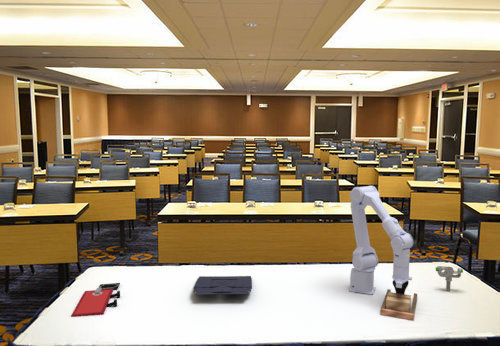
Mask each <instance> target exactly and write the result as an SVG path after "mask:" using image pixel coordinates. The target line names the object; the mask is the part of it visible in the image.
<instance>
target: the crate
mask: <svg viewBox="0 0 500 346" xmlns="http://www.w3.org/2000/svg"><path fill="white" fill-rule="evenodd" d="M411 307H412V295H410V294H406V293H404V294H399V293H396V292H392V291H391V292H389V293H388V295H387V299H386V309H389V310H395V311H401V312H406V313H410V312H411Z"/></svg>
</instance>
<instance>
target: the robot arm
mask: <svg viewBox="0 0 500 346" xmlns="http://www.w3.org/2000/svg"><path fill="white" fill-rule="evenodd" d="M377 189H378V188H376V187H375V186H374V185H368V186H367V185H366V186H365V185H364V186H356V187H353V188H352V190H351V191H350V192H349V197H350V211H351V212H350V213H351V216H352V217H351V218H352V225H353V231H354V235H355V236H354V237H355V243H356V248H355V249H354V251H353V252H352V261H351V262H352V266H353V267H352V268H351V269H350V277H349V281H350V282H349V291H350V292H353V293H360V294H365V295H366V294H367V295H370V296H371V295H374V293H375V291H376V288H377V287H376V286H374V285H375V283H374V281H375V280H374V279H375V278H374V277H375V270H376V267H377V266H378V265H379V258H378V256H377V253H376V249H375V248H373V247H372V246H371V243H370V235H369V231H368V224H367V223H368V222H367V216H366V208H367V207H368V206H369V207H371V208H372V210H373V211H374V212H375V213H376V214H377V216H378V217H379V218H380V220H381V221H382V223H381V226H382V228H383V229H384V231H385V232H386V233H387V236H388V237H389V239H390V240H391V241H390V246H391V247H392V253H393V263H392V276H391V277H392V279H393V280H392V286H393V287H394V290H395V293H399V294H406V293H405V292H406V290H407V288H408V286H409V283H410V281H412V280H413V277H411V276H410V256H411V255H410V254H411V249H410V248H412V247H413V246H414V239H413V236H412V234H410V233H408V232H406V231H405V230H404V229H403V227H401V225H400V224H399V221H398V219H396V217H392V216H391V215H390V214H389V212H388V210H387V208H386V207H385V205H384V204H383V202H382V199H381V198H380V193H379V191H378V190H377Z"/></svg>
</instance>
